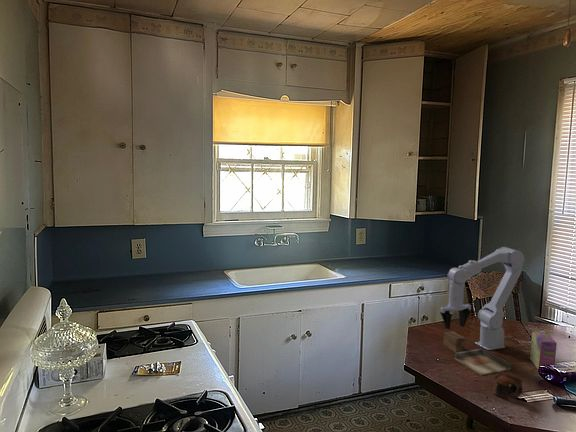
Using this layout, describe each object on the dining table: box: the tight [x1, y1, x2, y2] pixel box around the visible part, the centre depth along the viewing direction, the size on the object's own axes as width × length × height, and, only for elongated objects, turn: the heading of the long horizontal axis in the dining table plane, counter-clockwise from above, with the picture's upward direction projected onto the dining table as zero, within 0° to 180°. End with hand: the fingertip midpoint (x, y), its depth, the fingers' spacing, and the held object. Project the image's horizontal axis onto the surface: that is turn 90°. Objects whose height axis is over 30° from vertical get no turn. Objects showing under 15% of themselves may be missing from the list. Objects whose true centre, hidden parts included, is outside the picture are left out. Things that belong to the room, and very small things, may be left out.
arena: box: [453, 347, 511, 376], centre depth 180 cm, size 14×15×3 cm
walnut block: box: [443, 330, 466, 354], centre depth 195 cm, size 4×8×6 cm, turn 19°
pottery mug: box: [492, 371, 524, 400], centre depth 156 cm, size 12×10×8 cm
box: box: [529, 331, 558, 370], centre depth 178 cm, size 10×6×12 cm, turn 168°
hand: (454, 327), depth 194 cm, fingers open, 7 cm apart
